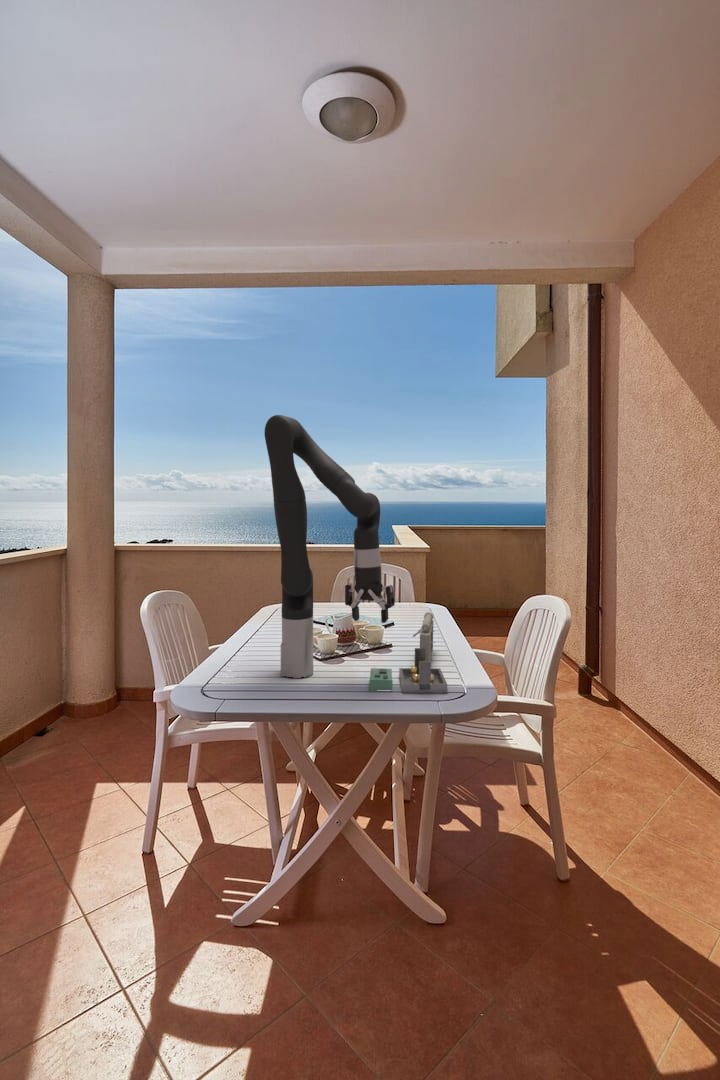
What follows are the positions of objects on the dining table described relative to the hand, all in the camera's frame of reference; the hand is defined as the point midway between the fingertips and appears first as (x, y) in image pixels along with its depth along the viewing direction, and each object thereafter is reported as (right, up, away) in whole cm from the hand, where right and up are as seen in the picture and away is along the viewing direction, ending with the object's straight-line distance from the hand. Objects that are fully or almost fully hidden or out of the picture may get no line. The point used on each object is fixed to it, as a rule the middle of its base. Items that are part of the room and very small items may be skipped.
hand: (370, 621), depth 142 cm
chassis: (+15, -18, -1) cm, 23 cm away
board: (+3, -18, -1) cm, 18 cm away
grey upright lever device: (+19, -16, +24) cm, 35 cm away
